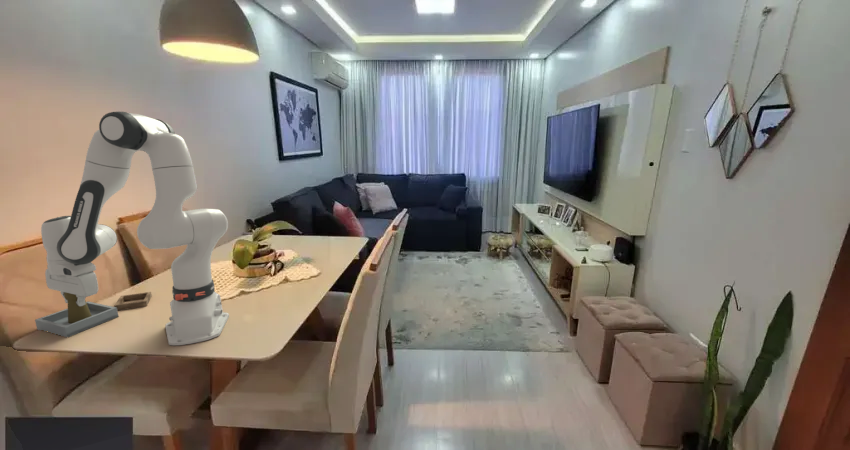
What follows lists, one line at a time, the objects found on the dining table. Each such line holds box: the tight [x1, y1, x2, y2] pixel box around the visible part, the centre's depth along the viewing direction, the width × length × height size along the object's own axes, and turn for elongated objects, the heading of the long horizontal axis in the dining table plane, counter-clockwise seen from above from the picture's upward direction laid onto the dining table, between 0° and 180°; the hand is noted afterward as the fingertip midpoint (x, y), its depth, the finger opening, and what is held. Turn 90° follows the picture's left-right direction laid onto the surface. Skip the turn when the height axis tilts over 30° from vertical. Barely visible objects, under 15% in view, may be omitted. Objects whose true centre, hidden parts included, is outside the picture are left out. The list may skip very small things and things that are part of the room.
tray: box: [34, 300, 120, 338], centre depth 126 cm, size 15×15×4 cm
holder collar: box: [113, 291, 153, 311], centre depth 141 cm, size 10×10×2 cm
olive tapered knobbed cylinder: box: [63, 292, 92, 324], centre depth 125 cm, size 6×6×11 cm
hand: (75, 304), depth 125 cm, fingers open, 4 cm apart
